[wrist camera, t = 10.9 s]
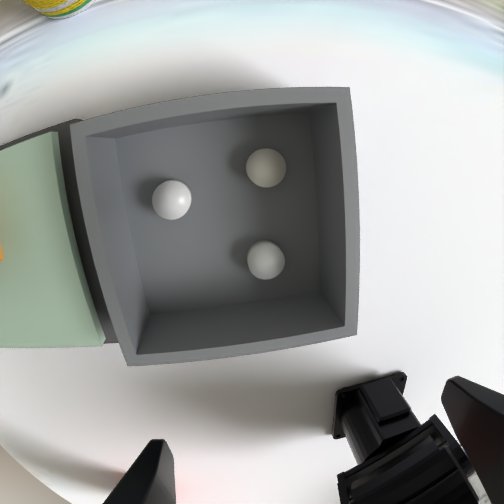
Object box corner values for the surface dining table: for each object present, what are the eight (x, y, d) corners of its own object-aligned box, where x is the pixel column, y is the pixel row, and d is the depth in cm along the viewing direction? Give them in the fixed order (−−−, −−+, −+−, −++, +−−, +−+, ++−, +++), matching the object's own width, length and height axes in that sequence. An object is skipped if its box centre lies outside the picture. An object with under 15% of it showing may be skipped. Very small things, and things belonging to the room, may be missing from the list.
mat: (128, 334, 20) (124, 342, 19) (-10, 339, 19) (-16, 345, 18) (83, 119, 15) (76, 118, 14) (-56, 176, 14) (-64, 178, 13)
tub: (327, 294, 20) (356, 334, 16) (145, 319, 20) (127, 366, 15) (315, 102, 16) (349, 87, 12) (107, 129, 16) (69, 124, 11)
